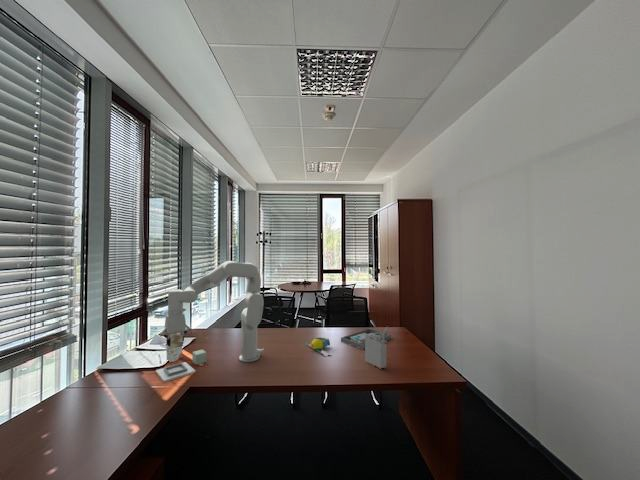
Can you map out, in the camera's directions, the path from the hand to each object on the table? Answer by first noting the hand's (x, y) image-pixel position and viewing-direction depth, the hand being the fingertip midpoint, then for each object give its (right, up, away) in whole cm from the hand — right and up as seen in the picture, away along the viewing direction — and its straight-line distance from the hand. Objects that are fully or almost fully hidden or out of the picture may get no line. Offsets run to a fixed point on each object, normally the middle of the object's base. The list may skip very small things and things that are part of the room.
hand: (175, 343), depth 160 cm
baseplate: (0, -16, 0) cm, 16 cm away
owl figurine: (+80, -17, +35) cm, 89 cm away
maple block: (0, -1, 0) cm, 1 cm away
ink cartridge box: (-9, -16, +17) cm, 25 cm away
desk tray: (+116, -16, +52) cm, 128 cm away
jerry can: (+115, -17, +9) cm, 117 cm away
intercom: (+117, -17, +54) cm, 130 cm away
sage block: (+8, -16, +14) cm, 23 cm away
